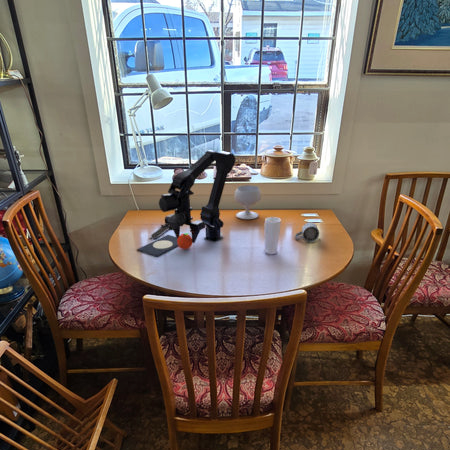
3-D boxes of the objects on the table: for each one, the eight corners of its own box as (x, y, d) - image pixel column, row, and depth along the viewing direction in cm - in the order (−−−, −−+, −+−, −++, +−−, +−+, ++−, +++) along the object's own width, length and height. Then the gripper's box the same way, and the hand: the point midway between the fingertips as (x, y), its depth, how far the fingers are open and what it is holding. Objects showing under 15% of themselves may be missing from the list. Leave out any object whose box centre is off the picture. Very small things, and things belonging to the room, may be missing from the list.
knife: (154, 240, 174) (154, 238, 173) (143, 238, 176) (142, 235, 176) (182, 223, 193) (181, 220, 192) (171, 221, 195) (171, 218, 195)
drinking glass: (268, 256, 159) (270, 223, 151) (260, 250, 164) (261, 218, 156) (281, 253, 161) (284, 220, 153) (272, 247, 166) (275, 215, 158)
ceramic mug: (316, 235, 178) (318, 220, 173) (318, 242, 171) (320, 226, 167) (294, 235, 178) (295, 220, 174) (295, 242, 172) (296, 226, 167)
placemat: (187, 241, 173) (187, 240, 172) (157, 257, 159) (157, 255, 159) (168, 235, 179) (167, 234, 178) (137, 250, 165) (137, 248, 165)
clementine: (186, 243, 171) (185, 228, 167) (197, 247, 167) (197, 232, 163) (174, 249, 166) (173, 234, 162) (185, 253, 162) (184, 238, 158)
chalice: (236, 211, 208) (236, 184, 200) (260, 212, 206) (262, 185, 198) (233, 220, 196) (233, 191, 188) (259, 221, 195) (260, 192, 187)
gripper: (154, 207, 155) (157, 241, 164) (188, 216, 146) (190, 252, 155) (171, 200, 163) (174, 233, 171) (205, 208, 154) (206, 243, 162)
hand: (185, 240), depth 165 cm, fingers open, 9 cm apart
